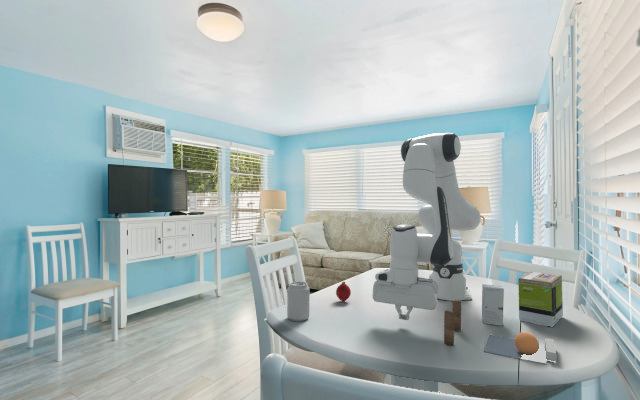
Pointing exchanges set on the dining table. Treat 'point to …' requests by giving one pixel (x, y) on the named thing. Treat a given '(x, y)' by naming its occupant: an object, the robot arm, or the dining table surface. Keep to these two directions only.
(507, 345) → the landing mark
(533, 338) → the ball
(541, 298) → the tea box
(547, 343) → the stopper wall
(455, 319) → the post
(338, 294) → the onion
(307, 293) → the can
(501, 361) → the dining table surface
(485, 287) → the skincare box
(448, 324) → the post
